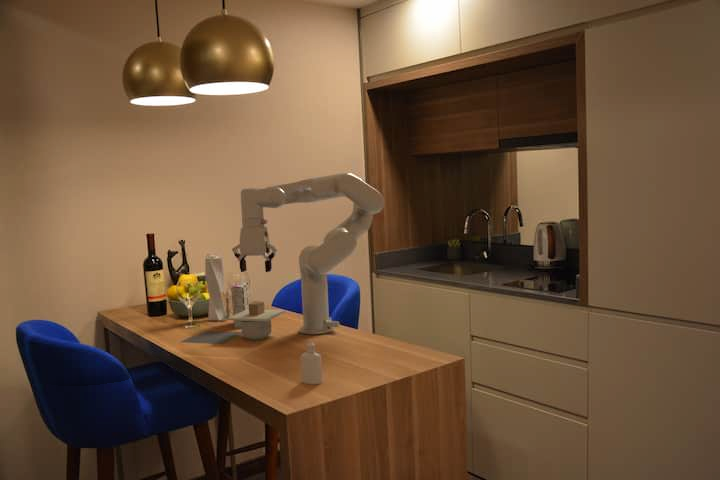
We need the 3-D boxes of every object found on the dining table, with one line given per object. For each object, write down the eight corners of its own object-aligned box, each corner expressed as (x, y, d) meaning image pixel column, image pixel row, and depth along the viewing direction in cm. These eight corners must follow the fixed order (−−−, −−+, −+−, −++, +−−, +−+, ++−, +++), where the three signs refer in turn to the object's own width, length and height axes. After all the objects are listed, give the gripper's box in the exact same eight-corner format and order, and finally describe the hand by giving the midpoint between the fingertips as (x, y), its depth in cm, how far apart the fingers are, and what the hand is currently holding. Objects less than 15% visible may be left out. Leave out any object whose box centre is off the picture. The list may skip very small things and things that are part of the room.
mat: (246, 333, 234) (246, 332, 234) (222, 345, 218) (222, 344, 218) (205, 332, 239) (205, 330, 239) (179, 343, 223) (179, 341, 223)
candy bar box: (239, 323, 253) (237, 282, 251) (251, 322, 253) (249, 281, 251) (233, 329, 242) (230, 287, 240) (246, 329, 241) (243, 286, 240)
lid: (284, 312, 231) (284, 299, 231) (266, 321, 217) (266, 307, 216) (247, 311, 236) (247, 298, 235) (227, 320, 221) (227, 306, 221)
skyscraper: (221, 322, 255) (217, 253, 253) (204, 321, 258) (199, 253, 255) (231, 317, 263) (228, 250, 261) (214, 317, 266) (210, 250, 263)
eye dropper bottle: (312, 378, 178) (310, 336, 177) (324, 382, 173) (322, 339, 172) (299, 382, 175) (297, 339, 174) (311, 386, 171) (309, 342, 170)
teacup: (262, 343, 219) (261, 320, 218) (235, 341, 223) (234, 319, 222) (281, 334, 232) (280, 312, 231) (255, 332, 236) (254, 311, 235)
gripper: (280, 222, 225) (282, 270, 226) (236, 223, 230) (239, 269, 231) (270, 223, 217) (273, 273, 219) (225, 224, 223) (228, 273, 224)
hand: (255, 271), depth 225 cm, fingers open, 9 cm apart
